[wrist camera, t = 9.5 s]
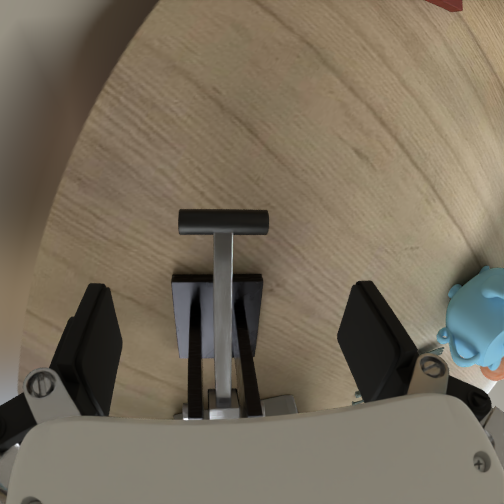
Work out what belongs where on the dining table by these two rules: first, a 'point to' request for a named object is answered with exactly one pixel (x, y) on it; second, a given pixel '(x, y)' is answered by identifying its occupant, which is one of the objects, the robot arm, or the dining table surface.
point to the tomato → (494, 372)
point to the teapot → (476, 320)
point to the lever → (223, 290)
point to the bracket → (202, 336)
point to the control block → (448, 4)
